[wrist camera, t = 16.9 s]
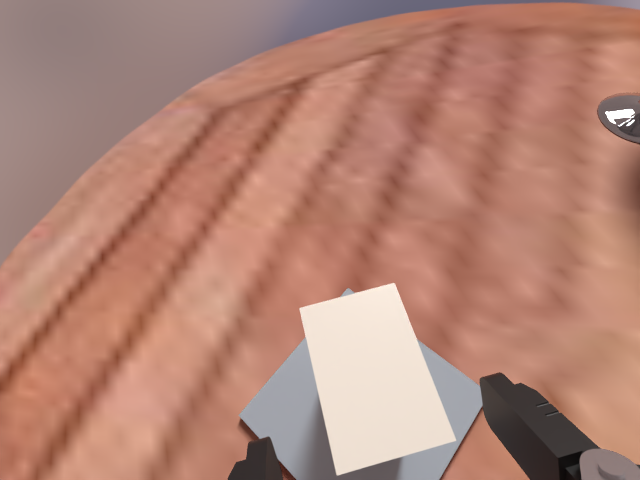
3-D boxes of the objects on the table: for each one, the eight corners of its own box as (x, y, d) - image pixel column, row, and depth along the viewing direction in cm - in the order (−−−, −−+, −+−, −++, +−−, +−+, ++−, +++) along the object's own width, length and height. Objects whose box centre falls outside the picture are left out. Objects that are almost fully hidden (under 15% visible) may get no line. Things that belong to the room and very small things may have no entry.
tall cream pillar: (404, 440, 20) (456, 440, 10) (346, 457, 20) (336, 475, 9) (376, 355, 22) (394, 282, 12) (325, 369, 22) (299, 308, 12)
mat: (486, 394, 21) (489, 393, 21) (382, 571, 18) (383, 575, 17) (347, 290, 26) (347, 287, 25) (241, 416, 22) (238, 415, 21)
